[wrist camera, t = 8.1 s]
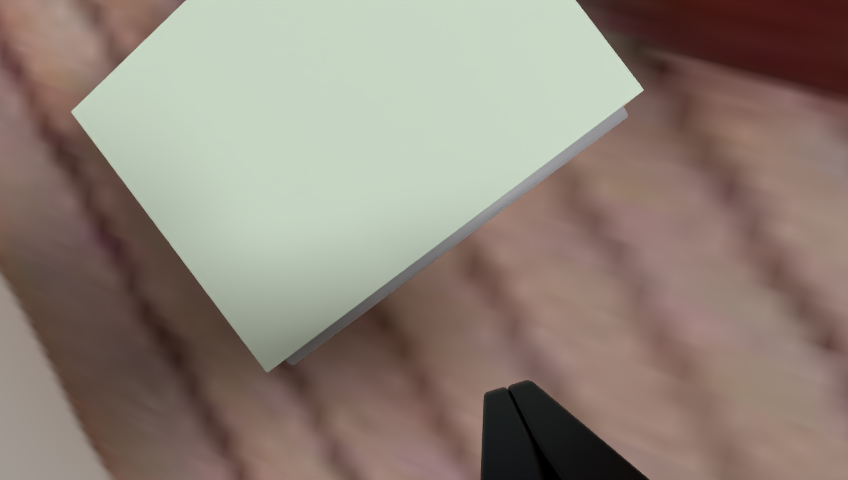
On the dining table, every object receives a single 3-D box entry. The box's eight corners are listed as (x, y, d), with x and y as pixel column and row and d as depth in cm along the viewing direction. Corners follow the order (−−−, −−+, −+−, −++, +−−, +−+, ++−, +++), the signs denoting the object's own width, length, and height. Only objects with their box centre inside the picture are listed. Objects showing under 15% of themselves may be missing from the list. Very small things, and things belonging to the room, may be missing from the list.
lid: (641, 105, 13) (651, 100, 12) (286, 370, 15) (273, 382, 14) (416, -190, 13) (409, -218, 12) (96, 115, 15) (70, 111, 14)
